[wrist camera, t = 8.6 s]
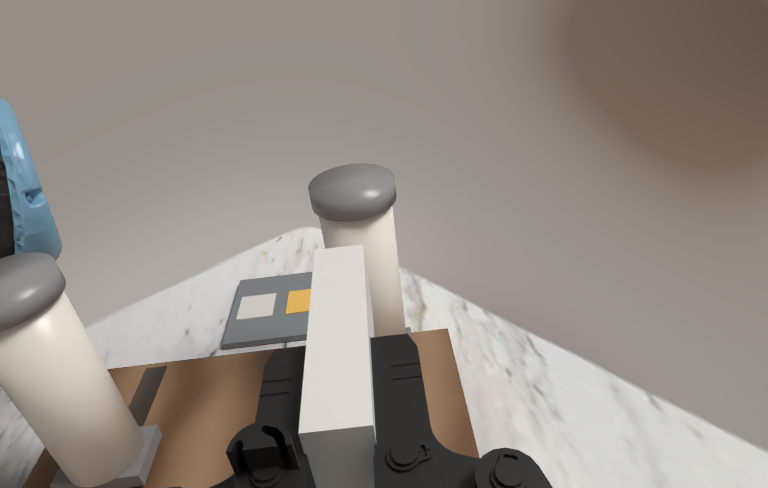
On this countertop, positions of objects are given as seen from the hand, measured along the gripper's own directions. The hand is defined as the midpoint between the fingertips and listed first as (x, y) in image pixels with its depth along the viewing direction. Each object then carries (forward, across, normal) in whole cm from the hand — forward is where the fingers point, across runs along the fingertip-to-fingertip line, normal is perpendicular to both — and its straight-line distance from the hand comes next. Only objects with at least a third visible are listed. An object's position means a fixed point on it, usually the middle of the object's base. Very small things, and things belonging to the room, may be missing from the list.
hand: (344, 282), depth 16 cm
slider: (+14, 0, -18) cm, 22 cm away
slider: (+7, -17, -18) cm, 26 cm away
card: (+24, -8, -20) cm, 32 cm away
